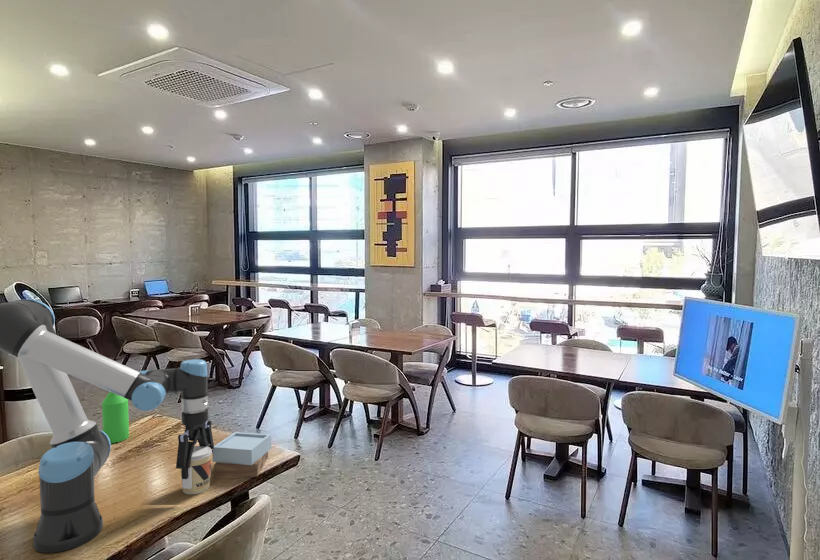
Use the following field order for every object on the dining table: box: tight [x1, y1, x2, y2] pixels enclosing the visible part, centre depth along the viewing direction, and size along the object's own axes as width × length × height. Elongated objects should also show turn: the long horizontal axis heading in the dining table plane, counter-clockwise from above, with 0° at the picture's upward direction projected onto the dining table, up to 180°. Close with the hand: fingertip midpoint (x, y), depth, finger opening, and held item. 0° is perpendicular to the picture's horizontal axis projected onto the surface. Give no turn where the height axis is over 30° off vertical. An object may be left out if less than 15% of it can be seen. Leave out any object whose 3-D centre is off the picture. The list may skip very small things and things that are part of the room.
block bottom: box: [213, 451, 269, 479], centre depth 163 cm, size 14×14×5 cm
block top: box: [212, 431, 272, 465], centre depth 164 cm, size 14×14×5 cm
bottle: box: [101, 391, 130, 444], centre depth 188 cm, size 9×9×25 cm
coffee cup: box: [180, 445, 213, 495], centre depth 149 cm, size 9×9×12 cm
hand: (196, 480), depth 149 cm, fingers closed on coffee cup, 9 cm apart
